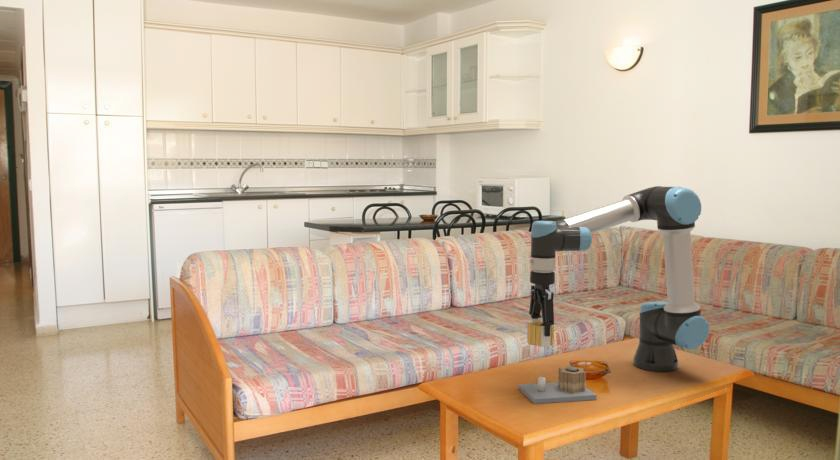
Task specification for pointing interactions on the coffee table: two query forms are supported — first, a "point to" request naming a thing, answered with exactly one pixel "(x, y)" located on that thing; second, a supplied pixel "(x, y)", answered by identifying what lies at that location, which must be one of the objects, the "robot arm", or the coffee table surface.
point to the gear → (572, 380)
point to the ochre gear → (537, 333)
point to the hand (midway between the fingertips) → (540, 342)
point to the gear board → (553, 392)
